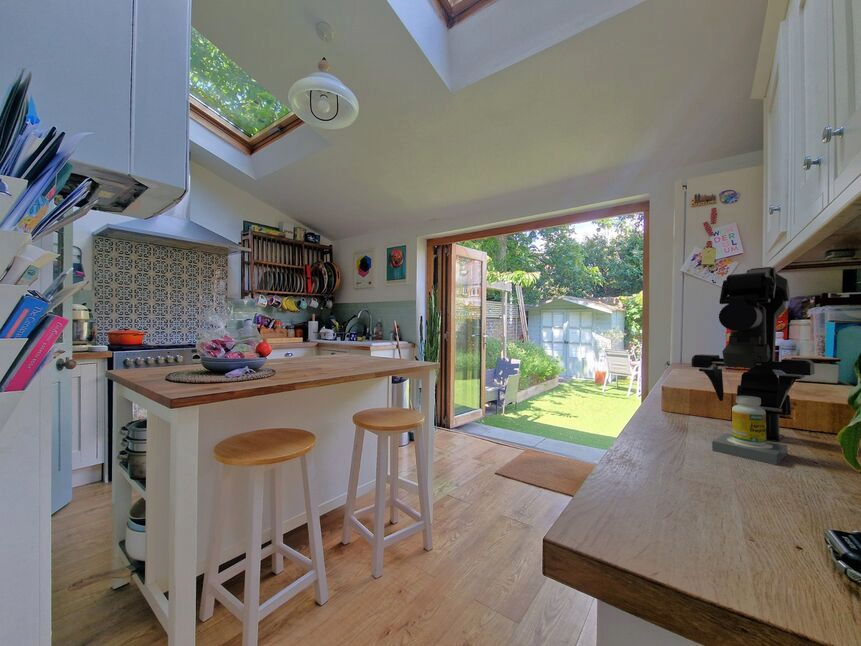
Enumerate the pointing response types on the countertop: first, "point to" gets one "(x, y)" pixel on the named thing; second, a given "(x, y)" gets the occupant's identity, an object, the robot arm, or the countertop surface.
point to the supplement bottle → (749, 421)
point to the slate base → (750, 449)
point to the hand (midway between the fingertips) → (748, 404)
